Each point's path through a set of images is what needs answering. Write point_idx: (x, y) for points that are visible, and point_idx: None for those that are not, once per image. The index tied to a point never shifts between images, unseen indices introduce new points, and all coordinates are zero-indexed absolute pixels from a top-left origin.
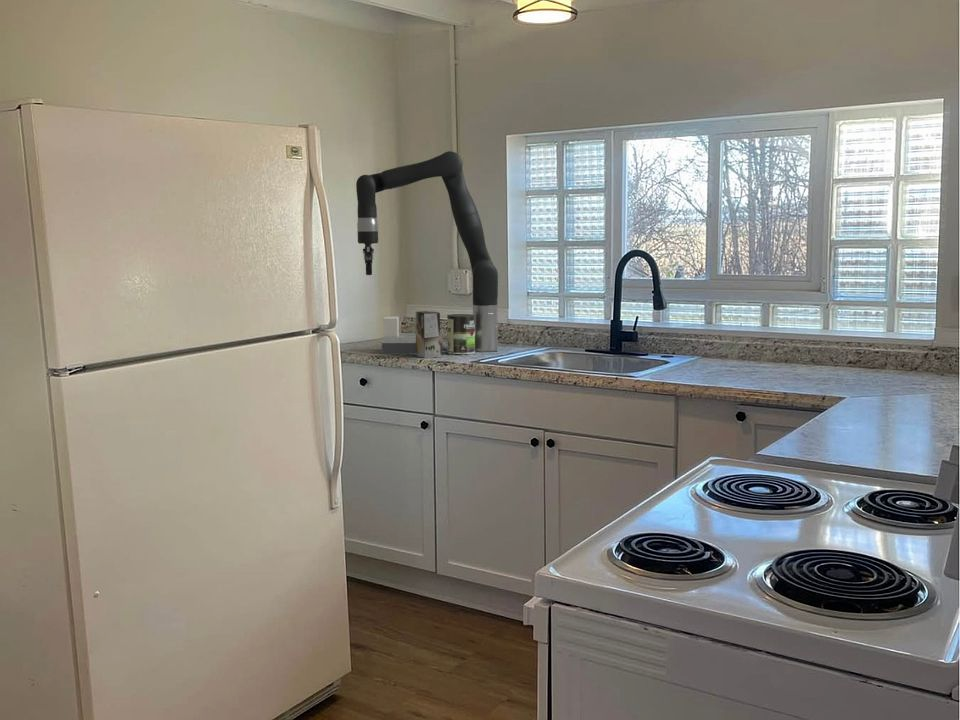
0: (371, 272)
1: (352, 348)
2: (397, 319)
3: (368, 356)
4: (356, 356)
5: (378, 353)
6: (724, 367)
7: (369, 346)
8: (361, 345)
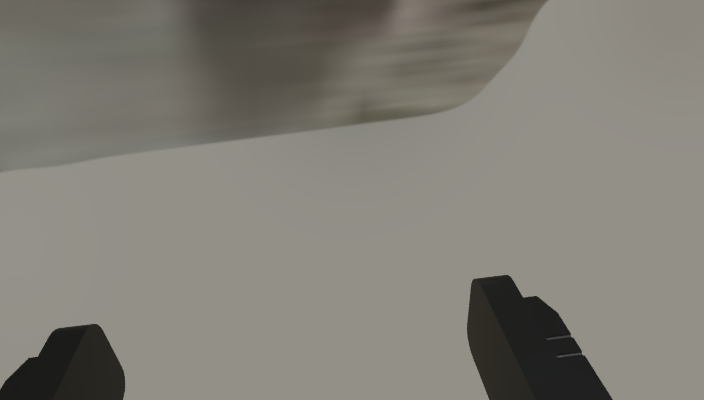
0: (520, 303)
1: (175, 132)
2: None
3: (478, 24)
4: (468, 80)
5: None
6: None
7: (73, 58)
8: (39, 105)
